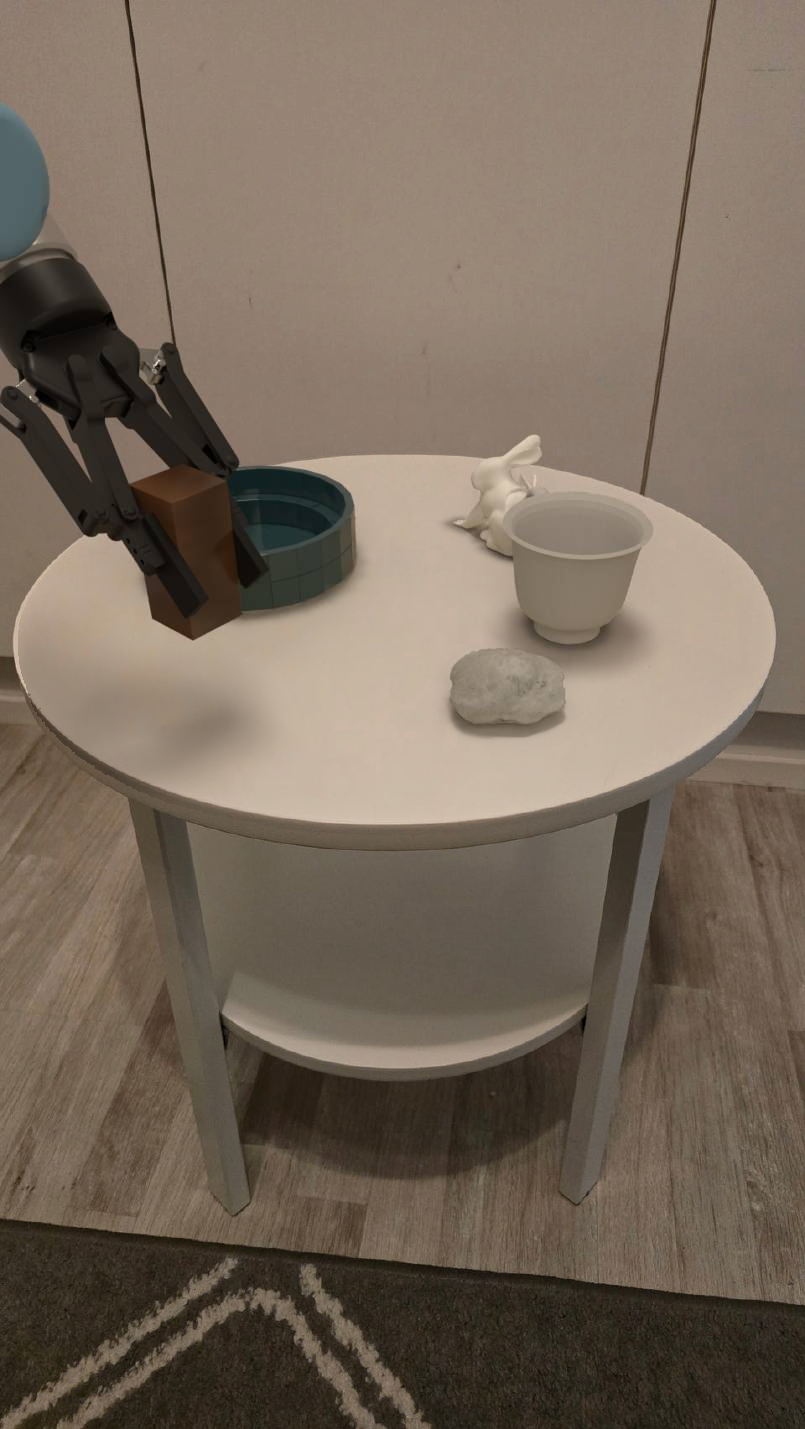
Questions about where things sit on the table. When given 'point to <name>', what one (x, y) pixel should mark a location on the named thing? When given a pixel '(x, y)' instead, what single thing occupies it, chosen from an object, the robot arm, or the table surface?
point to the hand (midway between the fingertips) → (227, 593)
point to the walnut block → (193, 545)
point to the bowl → (294, 533)
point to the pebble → (506, 687)
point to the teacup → (573, 559)
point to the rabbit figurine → (501, 492)
